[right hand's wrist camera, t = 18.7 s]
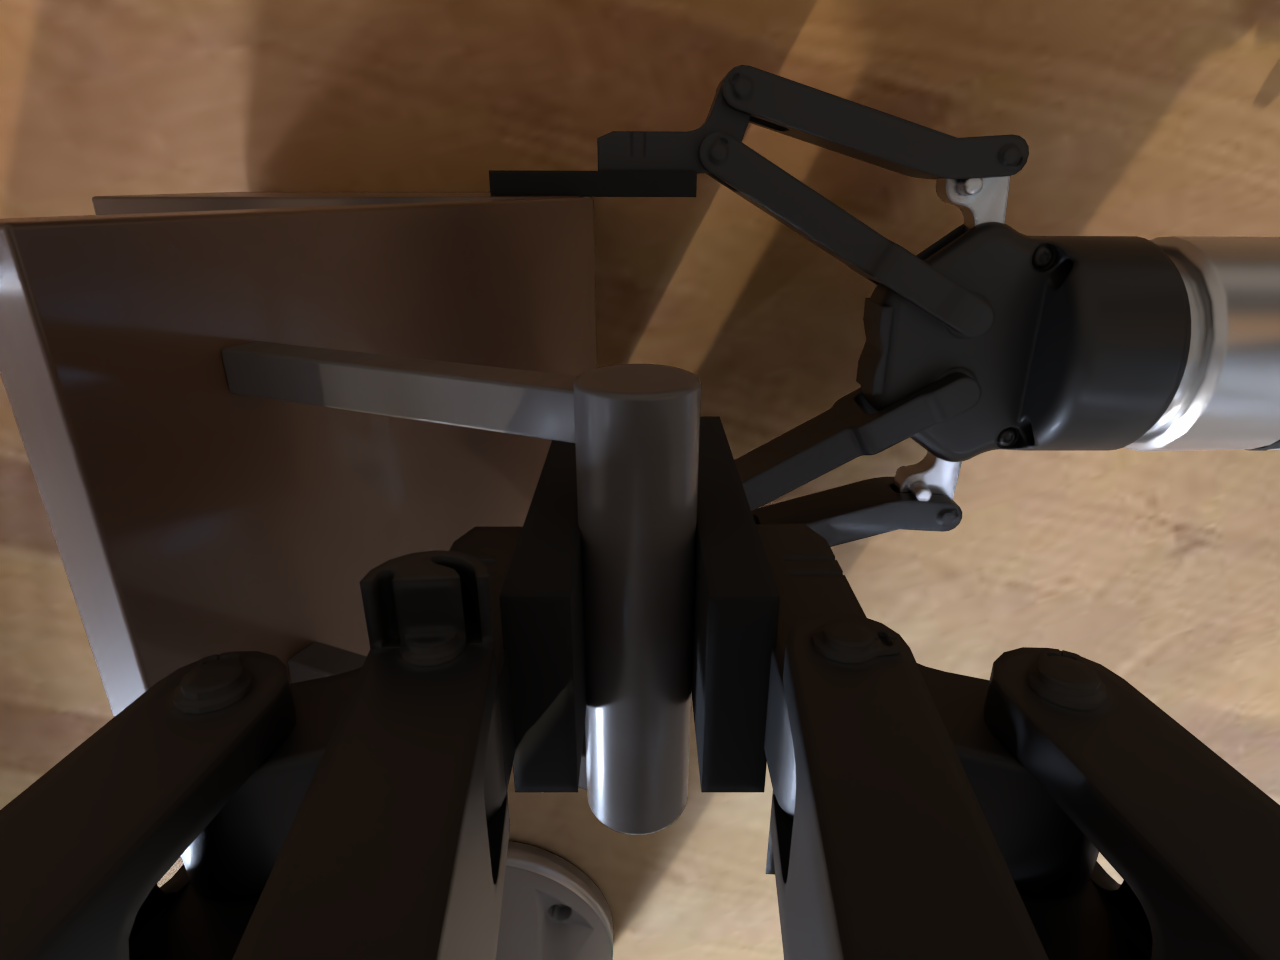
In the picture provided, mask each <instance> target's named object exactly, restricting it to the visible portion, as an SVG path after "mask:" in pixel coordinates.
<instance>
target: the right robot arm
mask: <svg viewBox="0 0 1280 960" xmlns="http://www.w3.org/2000/svg"><path fill="white" fill-rule="evenodd" d="M360 588H361V595H362V601H363V607H364V613H365V619H366V625H367V632H368V638H369V644H370V651H369V653H368V655H367V657H366V660H365V662H364V664H363V666H362V667H360V668H358V669H355V670H352V671H348V672H344V673H340V674H337V675H332V676H327V677H322V678H317V679H312V680H307V681H302V682H297V683H292V684H290V680H289V676H288V671H287V666H286V665H285V664H284V663H283V662H282V661H281V660H280V659H279V658H278V657H277V656H274V655H271V654H267V653H263V652H260V651H233V652H225V653H221V654H219V655H218V654H215V655H211V656H207V657H204V658H202V659H200V660H198V661H196V662H193V663H191V664H188V665H186V666H183V667H181V668H179V669H177V670H176V671H174V672H173V673H171V674H169V675H168V676H166V677H165V678H163V679H162V680H160V681H158V682H157V683H156V684H154V685H153V686H152V687H151V688H149V689H148V690H147V691H146V692H145V693H143V694H142V695H141V696H140V697H138V698H137V699H136V700H135V701H134V702H132V703H131V704H130V705H129V706H127V707H126V708H125V709H124V710H123V711H121V712H120V713H119V714H118V715H116V716H115V717H114V718H113V719H112V720H110V721H109V722H108V723H107V724H105V725H104V726H103V727H102V728H100V729H99V730H98V731H97V732H96V733H94V734H93V735H92V736H91V737H89V738H88V739H87V740H86V741H85V742H83V743H82V744H81V745H80V746H78V747H77V748H76V749H75V750H74V751H72V752H71V753H70V754H69V755H67V756H66V757H65V758H64V759H63V760H61V761H60V762H59V763H58V764H56V765H55V766H54V767H53V768H52V769H50V770H49V771H48V772H47V773H45V774H44V775H43V776H42V777H40V778H39V779H38V780H37V781H36V782H34V783H33V784H32V785H31V786H29V787H28V788H27V789H26V790H25V791H23V792H22V793H21V794H20V795H18V796H17V797H16V798H15V799H14V800H12V801H11V802H10V803H9V804H7V805H6V806H5V807H4V808H3V809H1V810H0V960H496V953H497V944H498V935H499V925H500V916H501V906H502V897H503V887H504V878H505V868H506V859H507V849H508V840H509V830H510V819H509V808H508V797H507V788H508V783H509V779H510V774H511V769H512V765H513V770H514V783H515V792H578V785H579V775H580V766H581V756H582V746H583V736H584V726H585V716H586V706H587V699H586V668H585V638H584V608H583V578H582V548H581V530H580V528H579V525H578V506H577V476H576V446H575V443H569V442H563V441H556V440H552V442H551V445H550V448H549V451H548V454H547V457H546V460H545V463H544V466H543V469H542V472H541V475H540V478H539V481H538V484H537V487H536V490H535V492H534V495H533V498H532V501H531V504H530V507H529V510H528V513H527V516H526V519H525V522H524V525H523V527H474V528H472V529H471V530H470V531H468V532H467V533H465V534H464V535H463V536H461V537H460V538H458V539H457V540H456V541H454V542H453V544H452V546H451V548H450V550H449V551H440V550H433V551H425V552H417V553H410V554H407V555H404V556H400V557H397V558H394V559H390V560H388V561H386V562H384V563H382V564H381V565H379V566H377V567H375V568H373V569H371V570H370V571H369V572H368V573H367V574H366V575H365V576H364V578H363V579H362V580H361V581H360ZM691 692H692V702H693V712H694V721H695V731H696V741H697V751H698V761H699V771H700V781H701V791H702V792H764V787H765V775H766V763H767V764H768V768H769V773H770V778H771V782H772V787H773V796H772V808H771V819H770V831H769V842H768V854H767V865H766V874H775V876H776V886H777V895H778V905H779V914H780V924H781V933H782V943H783V952H784V960H1280V805H1279V804H1277V803H1276V802H1275V801H1274V800H1272V799H1271V798H1270V797H1269V796H1268V795H1266V794H1265V793H1264V792H1263V791H1261V790H1260V789H1259V788H1258V787H1256V786H1255V785H1254V784H1253V783H1251V782H1250V781H1249V780H1248V779H1247V778H1245V777H1244V776H1243V775H1242V774H1240V773H1239V772H1238V771H1237V770H1235V769H1234V768H1233V767H1232V766H1230V765H1229V764H1228V763H1227V762H1226V761H1224V760H1223V759H1222V758H1221V757H1219V756H1218V755H1217V754H1216V753H1214V752H1213V751H1212V750H1211V749H1209V748H1208V747H1207V746H1206V745H1205V744H1203V743H1202V742H1201V741H1200V740H1198V739H1197V738H1196V737H1195V736H1193V735H1192V734H1191V733H1190V732H1188V731H1187V730H1186V729H1185V728H1184V727H1182V726H1181V725H1180V724H1179V723H1177V722H1176V721H1175V720H1174V719H1172V718H1171V717H1170V716H1169V715H1167V714H1166V713H1165V712H1164V711H1163V710H1161V709H1160V708H1159V707H1158V706H1156V705H1155V704H1154V703H1153V702H1151V701H1150V700H1149V699H1148V698H1146V697H1145V696H1144V695H1143V694H1142V693H1140V692H1139V691H1138V690H1137V689H1135V688H1134V687H1133V686H1132V685H1130V684H1129V683H1128V682H1127V681H1125V680H1124V679H1123V678H1121V677H1120V676H1118V675H1117V674H1115V673H1113V672H1112V671H1110V670H1109V669H1107V668H1105V667H1104V666H1102V665H1101V664H1098V663H1096V662H1093V661H1091V660H1088V659H1086V658H1083V657H1081V656H1079V655H1077V654H1075V653H1071V652H1067V651H1064V650H1062V651H1059V649H1051V648H1019V649H1015V650H1011V651H1008V652H1004V653H1003V654H1002V655H1001V656H1000V657H999V658H998V659H997V660H996V661H995V662H994V663H993V667H992V672H991V677H990V681H989V680H984V679H979V678H974V677H969V676H964V675H959V674H954V673H949V672H944V671H940V670H936V669H933V668H929V667H925V666H923V665H920V664H918V663H916V661H915V658H914V656H913V654H912V652H911V650H910V648H909V646H908V645H907V644H906V642H905V641H904V640H903V639H902V637H901V636H900V635H899V634H898V633H896V632H895V631H893V630H891V629H890V628H888V627H887V626H885V625H884V624H882V623H879V622H877V621H874V620H871V619H868V618H866V616H865V614H864V612H863V610H862V608H861V606H860V604H859V602H858V600H857V598H856V596H855V594H854V593H853V591H852V589H851V587H850V585H849V583H848V581H847V579H846V577H845V575H843V571H842V569H841V567H840V566H839V564H838V562H837V560H835V556H834V554H833V552H832V550H831V548H830V546H829V544H828V542H827V541H826V539H825V538H823V537H822V536H821V535H819V534H818V533H816V532H815V531H814V530H812V529H811V528H809V527H808V526H806V525H805V524H755V521H754V518H753V515H752V512H751V509H750V506H749V503H748V500H747V497H746V494H745V491H744V488H743V485H742V482H741V479H740V476H739V473H738V470H737V467H736V464H735V461H734V459H733V456H732V453H731V450H730V447H729V444H728V441H727V438H726V435H725V432H724V429H723V426H722V423H721V420H720V417H700V435H699V466H698V496H697V527H696V557H695V588H694V618H693V648H692V679H691ZM1099 852H1100V853H1101V854H1102V855H1103V856H1104V857H1105V859H1106V860H1107V861H1108V862H1109V863H1110V864H1111V865H1112V866H1113V868H1114V869H1115V870H1116V871H1117V872H1118V873H1119V874H1120V876H1121V877H1122V878H1123V879H1124V881H1123V883H1122V884H1121V885H1120V884H1118V883H1117V882H1116V881H1115V880H1114V879H1113V878H1111V877H1110V876H1109V875H1108V874H1107V873H1106V871H1105V870H1104V869H1103V868H1102V867H1101V866H1100V864H1099V863H1098V862H1097V861H1096V860H1097V857H1098V854H1099ZM180 856H182V859H183V862H184V864H183V866H182V867H181V868H180V869H179V870H178V871H177V872H176V874H175V875H174V876H173V877H172V878H171V879H170V880H169V881H167V882H166V883H165V884H164V885H163V886H161V887H160V888H159V887H158V886H157V883H158V881H159V880H160V879H161V878H162V877H163V876H164V874H165V873H166V872H167V871H168V870H169V869H170V868H171V866H172V865H173V864H174V863H175V862H176V861H177V860H178V858H179V857H180Z"/></svg>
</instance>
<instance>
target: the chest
mask: <svg viewBox="0 0 1280 960" xmlns="http://www.w3.org/2000/svg"><path fill="white" fill-rule="evenodd" d="M550 197H579V196H491V193H490V192H225V193H192V194H159V195H125V196H95V197H93V198H92V201H93V205H94V209H95V212H96V215H113V214H139V213H165V212H191V211H216V210H242V209H268V208H293V207H319V206H345V205H371V204H396V203H422V202H448V201H473V200H499V199H525V198H550Z"/></svg>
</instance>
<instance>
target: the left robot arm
mask: <svg viewBox="0 0 1280 960" xmlns="http://www.w3.org/2000/svg"><path fill="white" fill-rule="evenodd" d="M748 123H752V124H755V125H758V126H761V127H764V128H767V129H770V130H773V131H776V132H779V133H782V134H785V135H788V136H791V137H794V138H797V139H800V140H803V141H806V142H809V143H812V144H815V145H817V146H820V147H823V148H826V149H829V150H832V151H835V152H838V153H841V154H844V155H847V156H850V157H853V158H856V159H859V160H862V161H865V162H868V163H871V164H874V165H877V166H880V167H883V168H886V169H888V170H891V171H894V172H897V173H900V174H904V175H908V176H911V177H916V178H924V179H936V192H937V195H938V197H939V198H940V200H941V201H943V202H945V203H948V204H952V205H955V206H957V207H958V208H960V210H961V211H962V213H963V216H964V224H963V225H961V226H959V227H958V228H956V229H955V230H953V231H952V232H950V233H949V234H947V235H946V236H944V237H943V238H941V239H940V240H939V241H937V242H936V243H934V244H933V245H931V246H930V247H928V248H927V249H925V250H924V251H922V252H921V253H919V254H918V255H917V256H915V255H913V254H912V253H910V252H909V251H907V250H906V249H904V248H903V247H901V246H899V245H898V244H896V243H894V242H892V241H890V240H888V239H886V238H885V237H883V236H882V235H880V234H879V233H877V232H876V231H874V230H873V229H871V228H870V227H868V226H867V225H865V224H864V223H862V222H861V221H859V220H858V219H856V218H855V217H853V216H852V215H850V214H849V213H847V212H846V211H844V210H843V209H841V208H840V207H838V206H837V205H835V204H834V203H832V202H831V201H829V200H828V199H826V198H825V197H823V196H821V195H820V194H818V193H817V192H815V191H814V190H812V189H811V188H809V187H808V186H806V185H805V184H803V183H802V182H800V181H799V180H797V179H796V178H794V177H793V176H791V175H790V174H788V173H787V172H785V171H784V170H782V169H781V168H779V167H778V166H776V165H775V164H773V163H772V162H770V161H769V160H767V159H766V158H764V157H763V156H761V155H760V154H758V153H757V152H755V151H754V150H752V149H751V148H749V147H748V146H746V145H745V144H743V143H742V142H741V141H742V139H743V136H744V133H745V131H746V128H747V126H748ZM597 148H598V171H489V179H490V193H491V196H579V197H696V182H697V173H706V174H707V175H709V176H710V177H712V178H713V179H715V180H716V181H718V182H720V183H721V184H723V185H724V186H726V187H727V188H729V189H730V190H732V191H733V192H735V193H737V194H738V195H740V196H741V197H743V198H744V199H746V200H747V201H749V202H750V203H752V204H754V205H755V206H757V207H758V208H760V209H761V210H763V211H764V212H766V213H767V214H769V215H771V216H772V217H774V218H775V219H777V220H778V221H780V222H781V223H783V224H784V225H786V226H788V227H789V228H791V229H792V230H794V231H795V232H797V233H798V234H800V235H801V236H803V237H805V238H806V239H808V240H809V241H811V242H812V243H814V244H815V245H817V246H818V247H820V248H822V249H823V250H825V251H826V252H828V253H829V254H831V255H832V256H834V257H835V258H837V259H839V260H840V261H842V262H843V263H845V264H846V265H847V266H849V267H850V268H851V269H853V270H854V271H856V272H857V273H859V274H860V275H862V276H863V277H865V278H867V279H868V280H870V281H871V282H873V283H874V284H876V285H877V287H876V288H875V290H874V292H873V294H872V296H871V298H866V299H865V308H864V317H863V321H864V327H865V334H866V343H865V345H864V348H863V351H862V353H861V356H860V358H859V361H858V369H857V378H856V381H857V382H858V383H859V384H860V385H861V388H859V389H857V390H855V391H854V392H852V393H850V394H848V395H846V396H844V397H842V398H841V399H839V400H838V401H837V402H835V404H834V405H833V407H832V408H831V409H829V410H828V411H826V412H824V413H822V414H820V415H818V416H817V417H815V418H813V419H811V420H809V421H807V422H805V423H803V424H802V425H800V426H798V427H796V428H794V429H792V430H790V431H788V432H786V433H785V434H783V435H781V436H779V437H777V438H775V439H773V440H771V441H770V442H768V443H766V444H764V445H762V446H760V447H758V448H756V449H754V450H753V451H751V452H749V453H747V454H745V455H743V456H741V457H739V458H738V459H736V460H734V461H735V464H736V467H737V470H738V473H739V476H740V479H741V482H742V485H743V488H744V491H745V494H746V497H747V500H748V503H749V506H750V509H751V512H752V515H753V518H754V521H755V524H805V525H806V526H808V527H809V528H811V529H812V530H814V531H815V532H816V533H818V534H819V535H821V536H822V537H823V538H825V539H826V541H827V542H828V544H829V546H830V547H832V546H835V545H839V544H843V543H847V542H851V541H855V540H859V539H863V538H866V537H870V536H874V535H878V534H882V533H886V532H890V531H894V530H897V529H908V530H926V531H949V530H951V529H954V528H955V527H956V526H957V525H958V524H959V523H960V521H961V519H962V511H961V509H960V507H959V506H958V505H957V504H956V503H955V502H954V501H953V496H954V492H955V488H956V484H957V479H958V475H959V471H960V467H961V463H962V461H965V460H968V459H970V458H972V457H974V456H976V455H978V454H981V453H983V452H986V451H990V450H995V449H1008V450H1116V449H1119V448H1123V447H1124V448H1127V449H1132V450H1137V451H1180V450H1280V237H1159V238H1154V239H1152V240H1147V239H1145V238H1141V237H1130V236H1025V235H1023V234H1021V233H1019V232H1017V231H1015V230H1014V229H1013V228H1011V227H1010V226H1008V225H1006V224H1005V216H1006V207H1007V199H1008V191H1009V183H1010V176H1011V175H1015V174H1016V173H1017V172H1019V171H1020V170H1021V169H1022V168H1023V167H1024V165H1025V164H1026V162H1027V159H1028V156H1029V148H1028V145H1027V143H1026V141H1025V140H1024V139H1023V138H1022V137H1020V136H1017V135H999V136H983V137H967V138H956V137H953V136H950V135H947V134H944V133H942V132H939V131H936V130H933V129H930V128H927V127H924V126H921V125H919V124H916V123H913V122H910V121H907V120H904V119H901V118H898V117H895V116H893V115H890V114H887V113H884V112H881V111H878V110H875V109H872V108H870V107H867V106H864V105H861V104H858V103H855V102H852V101H849V100H846V99H844V98H841V97H838V96H835V95H832V94H829V93H826V92H823V91H821V90H818V89H815V88H812V87H809V86H806V85H803V84H800V83H798V82H795V81H792V80H789V79H786V78H783V77H780V76H777V75H774V74H772V73H769V72H766V71H763V70H760V69H757V68H754V67H751V66H746V65H740V66H737V67H734V68H733V69H732V70H731V71H730V72H729V73H728V74H727V75H726V76H725V77H724V79H723V80H722V81H721V82H720V83H719V85H718V87H717V89H716V94H715V97H714V100H713V103H712V105H711V108H710V111H709V114H708V116H707V119H706V121H705V123H704V124H703V125H702V126H701V127H700V128H699V129H696V130H694V131H688V132H626V131H613V132H611V133H608V134H606V135H604V136H602V137H599V138H597ZM909 437H911V438H912V439H913V440H914V441H916V442H917V443H918V444H920V445H921V446H922V447H924V448H925V449H926V450H928V451H927V454H926V456H925V457H924V459H923V460H922V461H920V462H919V463H917V464H914V465H909V466H902V467H900V468H898V469H897V471H896V475H895V477H880V478H872V479H868V480H863V481H859V482H855V483H852V484H848V485H844V486H840V487H837V488H833V489H829V490H825V491H822V492H818V493H814V494H810V495H807V496H803V497H799V498H795V499H792V500H788V501H784V502H780V503H776V504H773V505H769V506H765V507H761V506H763V505H765V504H767V503H769V502H771V501H773V500H775V499H777V498H779V497H781V496H783V495H784V494H786V493H788V492H790V491H792V490H794V489H796V488H798V487H800V486H802V485H804V484H806V483H808V482H810V481H812V480H814V479H816V478H817V477H819V476H821V475H823V474H825V473H827V472H829V471H831V470H833V469H835V468H837V467H839V466H841V465H843V464H845V463H847V462H849V461H851V460H852V459H854V458H856V457H859V456H861V455H873V454H877V453H879V452H881V451H883V450H885V449H887V448H889V447H891V446H893V445H895V444H897V443H899V442H901V441H903V440H905V439H907V438H909ZM759 507H761V508H759ZM757 508H758V509H757ZM612 957H613V920H612V915H611V911H610V909H609V906H608V904H607V902H606V900H605V898H604V896H603V894H602V893H601V891H600V890H599V889H598V887H597V886H596V885H595V884H594V883H593V881H592V880H591V879H590V878H589V877H588V876H586V875H585V874H584V873H583V872H582V871H581V870H579V869H578V868H577V867H575V866H574V865H572V864H571V863H569V862H568V861H566V860H564V859H562V858H561V857H559V856H557V855H555V854H552V853H550V852H548V851H545V850H543V849H540V848H537V847H534V846H531V845H527V844H523V843H518V842H513V841H508V849H507V859H506V868H505V878H504V887H503V897H502V906H501V916H500V925H499V935H498V944H497V953H496V960H612Z"/></svg>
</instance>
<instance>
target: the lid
mask: <svg viewBox="0 0 1280 960" xmlns="http://www.w3.org/2000/svg"><path fill="white" fill-rule="evenodd" d="M0 374H1V377H2V380H3V383H4V386H5V389H6V392H7V395H8V398H9V401H10V404H11V407H12V410H13V413H14V416H15V419H16V422H17V426H18V429H19V432H20V435H21V438H22V441H23V444H24V447H25V450H26V453H27V456H28V459H29V462H30V465H31V468H32V471H33V474H34V477H35V480H36V483H37V486H38V489H39V492H40V495H41V498H42V501H43V504H44V507H45V510H46V513H47V516H48V519H49V522H50V525H51V528H52V531H53V534H54V537H55V540H56V543H57V546H58V549H59V552H60V555H61V559H62V562H63V565H64V568H65V571H66V574H67V577H68V580H69V583H70V586H71V589H72V592H73V595H74V598H75V601H76V604H77V607H78V610H79V613H80V616H81V619H82V622H83V625H84V628H85V631H86V634H87V637H88V640H89V643H90V646H91V649H92V652H93V655H94V658H95V661H96V664H97V667H98V670H99V673H100V676H101V679H102V682H103V685H104V689H105V692H106V695H107V698H108V701H109V704H110V707H111V710H112V713H113V716H114V717H115V716H116V715H118V714H119V713H120V712H121V711H123V710H124V709H125V708H126V707H127V706H129V705H130V704H131V703H132V702H134V701H135V700H136V699H137V698H138V697H140V696H141V695H142V694H143V693H145V692H146V691H147V690H148V689H149V688H151V687H152V686H153V685H154V684H156V683H157V682H158V681H160V680H162V679H163V678H165V677H166V676H168V675H169V674H171V673H173V672H174V671H176V670H177V669H179V668H181V667H183V666H186V665H188V664H191V663H193V662H196V661H198V660H200V659H202V658H204V657H207V656H211V655H215V654H218V655H219V654H221V653H225V652H233V651H260V652H263V653H267V654H271V655H274V656H277V657H278V658H279V659H280V660H281V661H282V662H283V663H284V664H285V665H286V666H287V671H288V676H289V680H290V684H292V683H297V682H302V681H307V680H312V679H317V678H322V677H327V676H332V675H337V674H340V673H344V672H348V671H352V670H355V669H358V668H360V667H362V666H363V664H364V662H365V660H366V657H367V655H368V653H369V651H370V644H369V638H368V632H367V625H366V619H365V613H364V607H363V601H362V595H361V588H360V581H361V580H362V579H363V578H364V576H365V575H366V574H367V573H368V572H369V571H370V570H371V569H373V568H375V567H377V566H379V565H381V564H382V563H384V562H386V561H388V560H390V559H394V558H397V557H400V556H404V555H407V554H410V553H417V552H425V551H433V550H440V551H449V550H450V548H451V546H452V544H453V542H454V541H456V540H457V539H458V538H460V537H461V536H463V535H464V534H465V533H467V532H468V531H470V530H471V529H472V528H474V527H523V525H524V522H525V519H526V516H527V513H528V510H529V507H530V504H531V501H532V498H533V495H534V492H535V490H536V487H537V484H538V481H539V478H540V475H541V472H542V469H543V466H544V463H545V460H546V457H547V454H548V451H549V448H550V445H551V442H552V440H556V441H563V442H569V443H575V446H576V476H577V506H578V525H579V528H580V530H581V548H582V578H583V608H584V638H585V668H586V699H587V706H586V716H585V726H584V736H583V746H582V756H581V766H580V775H579V785H578V787H579V788H582V789H585V790H587V798H588V803H589V806H590V808H591V810H592V812H593V813H594V815H595V816H596V818H597V819H598V820H599V821H600V822H601V823H603V824H604V825H605V826H607V827H608V828H610V829H612V830H614V831H617V832H620V833H624V834H629V835H645V834H651V833H655V832H658V831H660V830H663V829H665V828H667V827H668V826H670V825H671V824H672V823H674V822H675V821H676V820H677V819H678V817H679V816H680V815H681V813H682V812H683V810H684V808H685V806H686V803H687V798H688V770H689V740H690V709H691V679H692V648H693V618H694V588H695V557H696V527H697V496H698V466H699V435H700V405H701V383H700V380H699V378H698V377H697V376H696V375H695V374H693V373H691V372H688V371H686V370H683V369H679V368H675V367H670V366H664V365H654V364H621V365H611V366H604V367H599V368H597V351H596V304H595V257H594V211H593V199H592V198H591V197H550V198H525V199H499V200H473V201H448V202H422V203H396V204H371V205H345V206H319V207H293V208H268V209H242V210H216V211H191V212H165V213H139V214H113V215H88V216H62V217H36V218H11V219H0ZM181 857H182V856H181Z"/></svg>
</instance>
